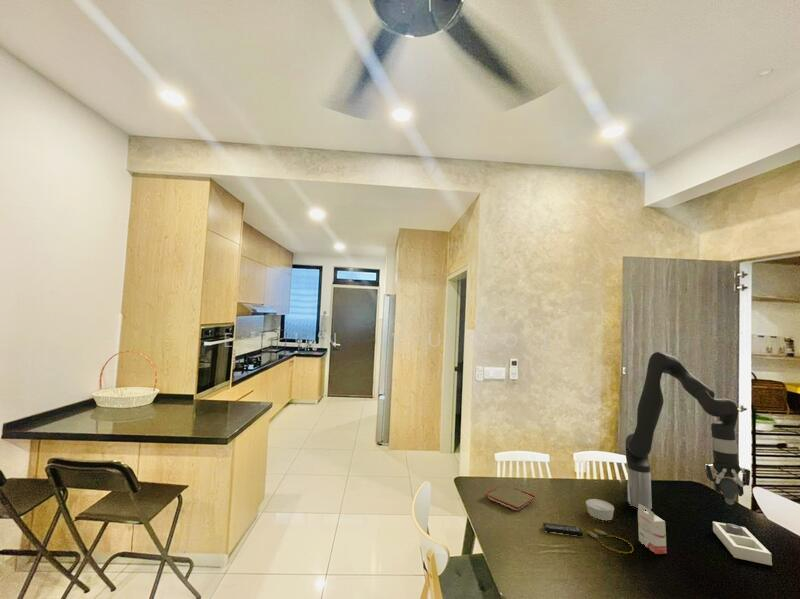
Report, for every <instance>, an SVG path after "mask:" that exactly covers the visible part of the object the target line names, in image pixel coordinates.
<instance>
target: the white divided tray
mask: <svg viewBox="0 0 800 599" xmlns="http://www.w3.org/2000/svg"><path fill="white" fill-rule="evenodd" d="M712 531H713V533H714V534H715V535H716V537H717V538H718V539H719V541H720V542H722V544H723V545H724V547H725V548H726V549H727V551H729V553H730V554H731V555H732V556H733V558H735V559H740V560H744V561H749V562H753V563H758V564H762V565H763V564H764V565H767V566H773V561H772V560H773V559H772V558H773V557H772V552H770V550H768V549H767V547H765V546H764V545H763V544H762V543H761V542H760V541H759V540H758V539H757V538H756V537H755V536H754V535H753V534H752V533H751V531H749V530H748V529H747V528H746V526H739V525H736V524H735V523H734V524H733V523H725V522H718V521H712Z"/></svg>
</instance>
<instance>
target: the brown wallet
mask: <svg viewBox="0 0 800 599" xmlns="http://www.w3.org/2000/svg"><path fill="white" fill-rule="evenodd" d="M500 486H501V485H500ZM500 486H497V487H496V488H495V487H494V489H492V490H489V491H487V492H486V493H485V494H484V495H485V496H486V497H487V496H489V495H487V494H488V493H490V492H492V491H494V490H496V489H497V488H499V487H500ZM513 488H514V489H516V490H519V491H521V492H523V493H525V494H528V495H530V496H532V497H534V498H532V499H530V500H529V501H527V502H525V503H524V504H522V505H520V506H519V507H517V506H514V505H512V504H510V503H507V502H505V501H502V500H499V499H497V498H494V497H492V496H489V497H491V498H493V499H495V500H497V501H500V502H502V503H504V504H506V505H509V506H511V507H513V508H515V509H519V508H521V507H522V506H524V505H525V504H527V503H529V502H530V501H532V500H533V499H534V500H535V499H536V498H537V496H536V495H534V494H532V493H529V492H526V491H523V490H522V489H518V488H515V487H513ZM534 500H533V501H534ZM533 501H532V502H533ZM529 504H530V503H529ZM524 507H525V506H524ZM521 509H522V508H521Z"/></svg>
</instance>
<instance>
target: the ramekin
mask: <svg viewBox="0 0 800 599" xmlns="http://www.w3.org/2000/svg"><path fill="white" fill-rule="evenodd" d="M585 505H586V508H587V509H586V511H587V514H588V513H589V514H590V515H591V516H593V517H595V518H598V519H601V520H606V521H607V520H611V521H612V520H613V518H614V512H615V507H614V505H613V504H612V503H610V502H608V501H605V500H602V499H598V498H589V499H587V500H585ZM589 514H588V515H589ZM590 515H589V516H590ZM591 516H590V517H591Z"/></svg>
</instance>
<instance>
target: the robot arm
mask: <svg viewBox="0 0 800 599" xmlns="http://www.w3.org/2000/svg"><path fill="white" fill-rule="evenodd" d="M646 369H647V370H646V374H645V379H644V382H643V383H644V384H643V388H642V391H641V394H640V398H639V402H638V405H637V410H636V414H637V415H636V427H635V430H634V432H633V433H631V434H628V435H627V436H626V438H625V458H626V462H627V482H626V485H627V503H628V502H629V503H628V505H629V504H630V505H629V506H634V507H636V508H638V504H641V505H642V506H644V507H646V508H647V509H649V510H650V511H652V510H651V509H653V506H652V505H653V503H652V502H653V501H652V500H653V499H652V480H651V479H652V478H651V465H650V461H649V454H650V453H651V452H652V446H653V441H654V440H653V438H654V434H655V430H656V428H657V425H658V421H659V419H660V415H661V413H662V411H663V410H662V409H663V405H664V403H665V402H664V395H663V391H662V387H661V379H662V375H663V374H666V375H667V374H668V375H670V376H672V377H673V378H675V379H676V380H678V381H679V382H680V384H681V386H682V387H683V389H684V390H685V392H687V393H688V394H690V396H692V397H693V398H694V399H695V400H697V402H698V403H699V405H700V407H701V408H702V409H703V411H704V412H705V413H706V414H707V415H709V416H711V417H715V418H718V420H716V421H715V422H712V423H711V424H710V429H711V450H712V459H713V460H712V461H713V462H712V464H707V463H704V464H703V466H704V470H705V474H706V479H708V480H709V481H710V482H713V486H714V487H713V489H714V491H716V493H718V494H722V491H721V489H720V484H719V482H720V480H721V479H722V478H731V479H734V481H735V482H736V484H737V485H738V492H737V493H736V495H738V496H739V497H743V496H744V487H745V486H750V480H751V470H749V468H746V467H740V461H739V453H738V452H739V451H738V444H737V441H736V432H735V428H736V425H737V422H738V421H737V420H738V416H739V409H738V406H737V403H735V401H734V400H732V399H730V398H715V396H716V395H715V392H714V390H713V389H711V387H709V386H708V385H706V384H705V383H703V382H702V381H701V380H700V379H698V377H696V376H694V375H693V373H692V372H690V371H689V370H688V369H687V368H686V367H685V366H684V365H683V364H682V363H681V361H680V360H679V359H678V358H677V357H675V356H673V355H670V354H668V353H663V352H660V351H655V352H653V354H651V355H650V357H649V358H648V362H647V368H646ZM713 469H715V470H716V471H715V473H714V476H713V473H712V472H713ZM740 472H741V473H742V480H741V478H740V476H739V473H740ZM634 507H633V508H634ZM636 508H635V509H636ZM643 511H645V510H644V509H643Z"/></svg>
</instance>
